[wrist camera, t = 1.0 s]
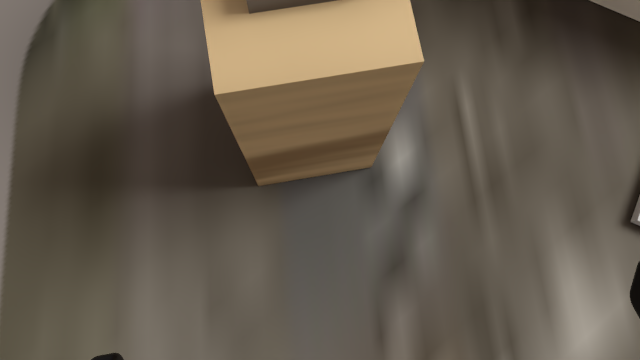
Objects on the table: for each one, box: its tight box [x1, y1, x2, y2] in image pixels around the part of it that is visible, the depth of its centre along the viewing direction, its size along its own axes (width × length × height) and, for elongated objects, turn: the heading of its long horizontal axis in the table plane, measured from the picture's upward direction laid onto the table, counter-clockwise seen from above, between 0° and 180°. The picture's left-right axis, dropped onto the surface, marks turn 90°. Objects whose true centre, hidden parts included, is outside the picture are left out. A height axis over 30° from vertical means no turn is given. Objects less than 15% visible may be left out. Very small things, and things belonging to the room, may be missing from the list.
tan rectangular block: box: [201, 0, 424, 186], centre depth 18 cm, size 5×5×12 cm
